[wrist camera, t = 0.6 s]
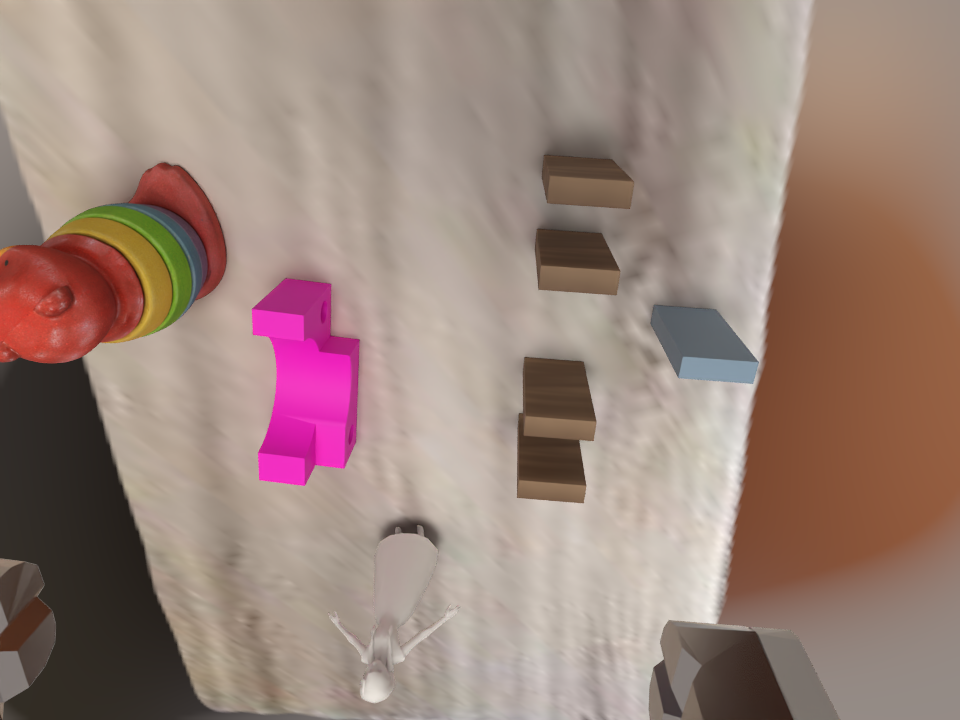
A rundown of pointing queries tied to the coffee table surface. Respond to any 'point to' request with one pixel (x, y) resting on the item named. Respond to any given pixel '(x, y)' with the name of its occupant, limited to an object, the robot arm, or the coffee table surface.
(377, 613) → the woman figurine
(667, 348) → the domino
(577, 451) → the domino
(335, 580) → the coffee table surface
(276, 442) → the toy block
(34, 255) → the stacking bear
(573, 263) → the domino
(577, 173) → the domino
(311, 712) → the coffee table surface
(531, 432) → the domino
